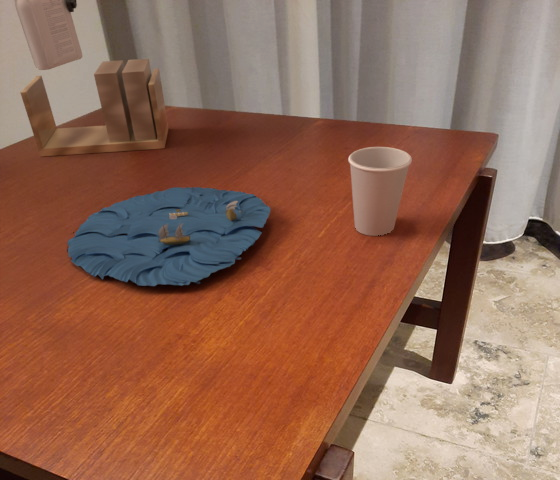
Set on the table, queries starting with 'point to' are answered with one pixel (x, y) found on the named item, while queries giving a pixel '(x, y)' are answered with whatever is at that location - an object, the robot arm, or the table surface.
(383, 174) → the dixie cup
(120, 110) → the rack
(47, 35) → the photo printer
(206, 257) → the decorative plate
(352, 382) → the table surface
